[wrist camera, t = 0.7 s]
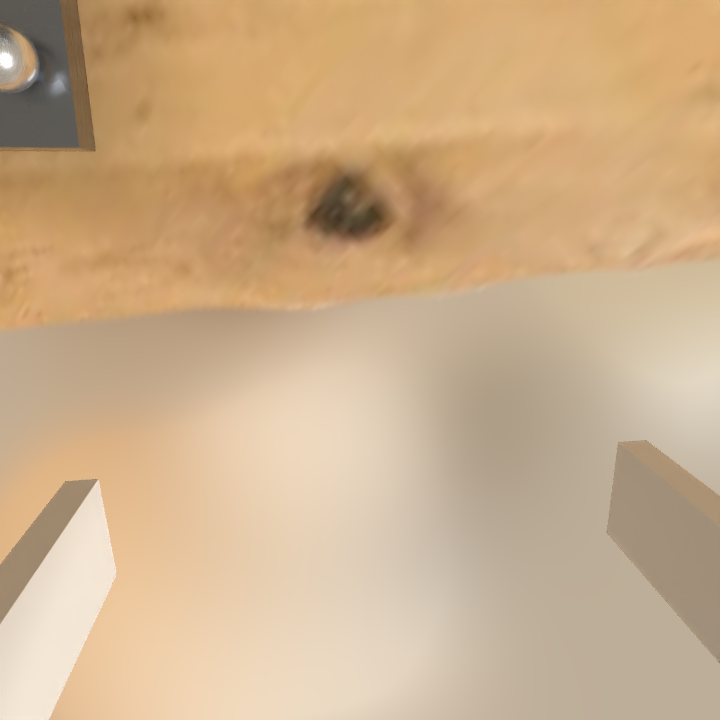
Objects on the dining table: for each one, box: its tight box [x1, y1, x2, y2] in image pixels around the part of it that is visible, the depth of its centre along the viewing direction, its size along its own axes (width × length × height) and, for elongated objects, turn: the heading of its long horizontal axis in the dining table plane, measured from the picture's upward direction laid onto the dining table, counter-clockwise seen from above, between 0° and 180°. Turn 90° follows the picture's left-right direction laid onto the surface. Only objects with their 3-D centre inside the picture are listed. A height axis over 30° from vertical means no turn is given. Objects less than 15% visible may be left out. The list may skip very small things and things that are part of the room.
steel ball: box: [0, 19, 40, 93], centre depth 27 cm, size 3×3×3 cm
